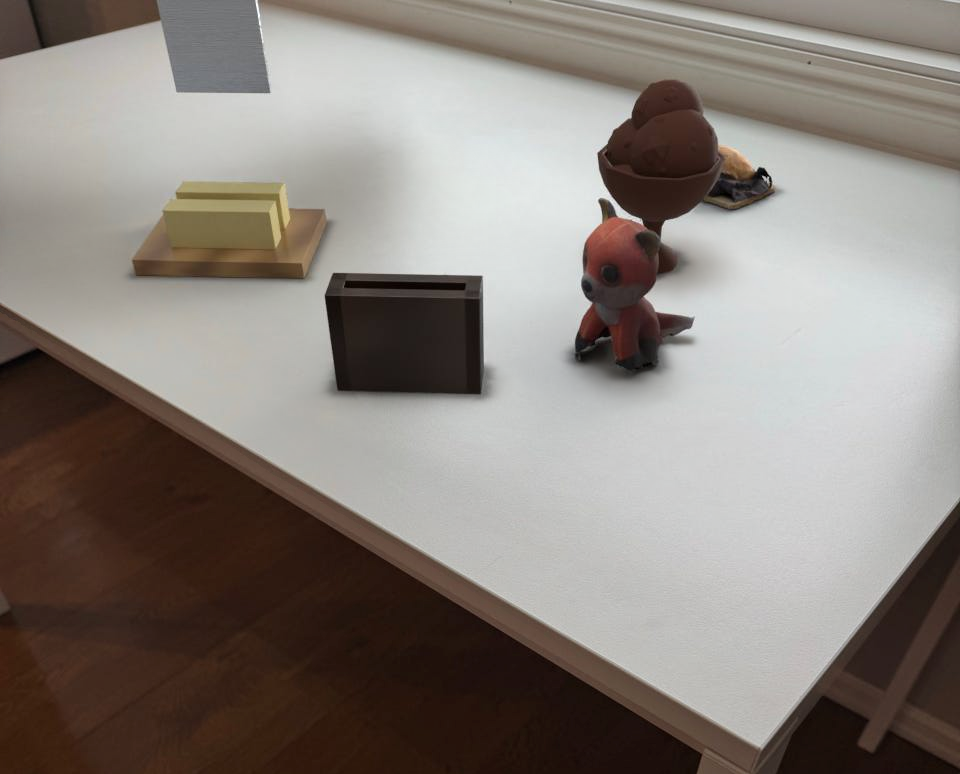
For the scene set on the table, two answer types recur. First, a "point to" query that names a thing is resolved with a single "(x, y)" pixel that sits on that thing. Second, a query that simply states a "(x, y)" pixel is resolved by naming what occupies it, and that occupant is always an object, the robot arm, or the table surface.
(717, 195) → the tan mound on tray
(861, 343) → the table surface
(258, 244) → the butter
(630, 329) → the stuffed fox
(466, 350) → the knife block
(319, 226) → the board
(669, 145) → the ice cream bowl
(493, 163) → the table surface
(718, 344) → the table surface
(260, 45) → the cleaver knife
